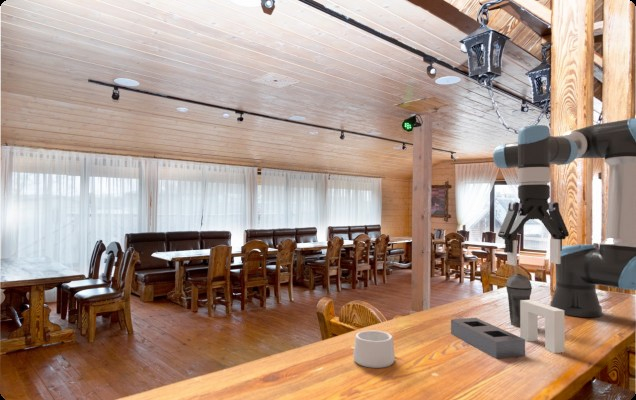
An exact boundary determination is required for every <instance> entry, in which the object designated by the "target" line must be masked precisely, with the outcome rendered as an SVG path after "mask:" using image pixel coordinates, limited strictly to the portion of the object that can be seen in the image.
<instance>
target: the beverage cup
mask: <svg viewBox="0 0 636 400" xmlns="http://www.w3.org/2000/svg"><path fill="white" fill-rule="evenodd" d="M505 288H506V293H507V301H508V309H509V311H508V312H509V319H510V325H511V326H513V327H517V328H518V327H519V328H520V300H531V296H532V295H531V294H532V290H533V286H532V283H531V281H530V279H529V278H528V277H527V276H526V275H524V274H523V273H522V274H521V273H518V270H517V266H514V274H511V275H510V276H509V277H508V278H507V280H506V285H505Z"/></svg>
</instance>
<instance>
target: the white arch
mask: <svg viewBox="0 0 636 400" xmlns="http://www.w3.org/2000/svg"><path fill="white" fill-rule="evenodd" d="M538 316H539V317H542V318H544V333H545V335H544V336H545V337H544V338H545V339H544V340H545V341H544V346H545V347H544V349H545V350H547V351H549V352H551V353H553V354H559V353H560V354H561V352H562V353H565V352H566V351H565V350H566V349H565V342H566V341H565V338H566V337H565V335H566V334H565V314H564V310H561V309H558V308H555V307H551V306H550V305H547V304H544V303H541V302H538V301H534V300H532V299H530V300H520V327H519V328H520V330H519V331H520V332H519V333H520V336H519V337H521V338H523V339H525V342H538V341H539V340H538V339H539V338H538V337H539V336H538V335H539V333H538V332H539V331H538V330H539V327H538V326H539V325H538V324H539V323H538V322H539V318H538Z"/></svg>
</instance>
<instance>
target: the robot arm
mask: <svg viewBox="0 0 636 400" xmlns="http://www.w3.org/2000/svg"><path fill="white" fill-rule="evenodd" d="M517 134H518V136H517V141H516V142H511V143H503V144H499V145H497V146H496V147H495V149H494V150H493V153H492V156H493V159H492V160H493V163H494V165H495V166H496V167H497V168H499V169H513V168H517V183H518V184H520V185H518V186H517V198H518V199H519V201H517V202H516V201H514V202H513V201H512V202H511V201H510V202H509V203H508V209H507V212H506V215H505V216H504V219H503V222H502V224H501V227H500V229H499V231H498V234H497V236H498V237H499V238H502V239H503V240H504V250H505V252H506V253H507V254H506V257H507V259H506V264H507V265H509V266H514V267H515V266H516V267H517V266H518V240H516V239H515V238H516V237H517V236H518V234H519V233H520V231H521V230H522V229H523V227H524V226H525V224H526V222H528V221H529V220H539V221H540V222H541V223H542V225H543V226H544V227H545V228H546V230H547V231H548V232H549V234H550V235H551V237H552V238H550V239H549V255H550V257H549V259H550V260H549V262H550V263H551V264H555V290H554V292H553V297H552V300H550V305H549V306H551V307H555V308H558V309H561V310H564V316H566V315H567V316H571V317H572V316H573V317H580V318H581V317H582V318H598V317H601V316H602V315H603V309H602V306H601V305H600V300H599V297H598V295H597V291H596V290H597V289H596V288H597V287H596V285H597V286H604V287H608V288H609V287H610V288H614V289H615V288H617V289H620V290H631V291H632V290H633V291H636V118H628V119H627V118H626V119H621V120H617V121H609V122H603V123H597V124H591V125H589V126H585V127H583V128H579V129H578V128H577V129H576V130H571V131H570V130H569V131H566V132H565V133H563V134H562V135H556V136H553V135H551V133H550V128H549V126H547V125H543V124H534V125H533V124H532V125H527V126H522V127H521V128H519V130H518V133H517ZM576 159H604V162H605V164H606V165H608V166H609V173H608V174H609V175H608V191H607V204H606V205H607V209H606V220H605V221H606V222H605V223H606V225H605V239H604V240H603V241H601V242H600V243H599V247H598V249H597V247H596V245H595V243H593V244H592V243H591V244H586V243H585V244H569V245H563V240H565V239H566V238H567V237H569V236H570V233H569V231H568V228H567V226H566V224H565V221H564V219H563V216H562V214H561V212H560V206H559V202H554V201H553V202H552V201H551V202H548V200H549V199H550V198H551V186H550V184H549V183H551V175H550V174H551V171H550V170H551V169H550V165H557V166H563V165H569V164H570V163H573V162H574V161H575V160H576ZM514 239H515V240H514Z"/></svg>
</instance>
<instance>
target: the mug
mask: <svg viewBox="0 0 636 400" xmlns="http://www.w3.org/2000/svg"><path fill="white" fill-rule="evenodd" d="M354 338H355V339H354V344H353V345H354V346H353V353H352V354H353V356H352V357H353V360H354V362H355V363H356V364H357V365H359V366H362V367H365V368H371V369H383V368H388V367H390V366H391V365H393V363H394V362H395V349H394V339H393V338H394V337H393V336H392V334H390V333H388V332H385V331H383V330H382V331H381V330H374V329H373V330H363V331H362V330H361V331H360V332H357V333H356V334H355V337H354Z"/></svg>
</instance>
